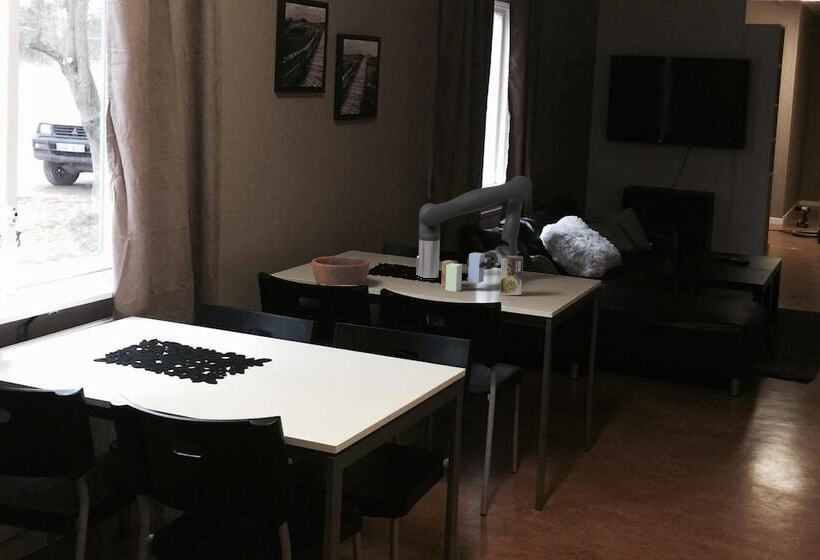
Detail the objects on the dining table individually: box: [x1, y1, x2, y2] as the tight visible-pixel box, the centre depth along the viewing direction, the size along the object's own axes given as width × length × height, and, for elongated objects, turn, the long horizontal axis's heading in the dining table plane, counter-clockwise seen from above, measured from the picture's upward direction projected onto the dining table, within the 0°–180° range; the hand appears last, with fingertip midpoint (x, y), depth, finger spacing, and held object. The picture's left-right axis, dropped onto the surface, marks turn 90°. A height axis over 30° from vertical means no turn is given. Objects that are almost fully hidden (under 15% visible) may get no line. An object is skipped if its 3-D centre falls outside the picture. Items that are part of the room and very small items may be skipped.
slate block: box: [467, 252, 485, 284], centre depth 466 cm, size 5×5×12 cm
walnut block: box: [440, 259, 459, 288], centre depth 473 cm, size 5×5×11 cm
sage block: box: [444, 263, 463, 293], centre depth 466 cm, size 5×5×11 cm
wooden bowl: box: [311, 255, 371, 286], centre depth 473 cm, size 25×25×10 cm
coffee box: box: [499, 255, 524, 295], centre depth 459 cm, size 9×6×16 cm
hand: (474, 264), depth 464 cm, fingers closed on slate block, 5 cm apart
